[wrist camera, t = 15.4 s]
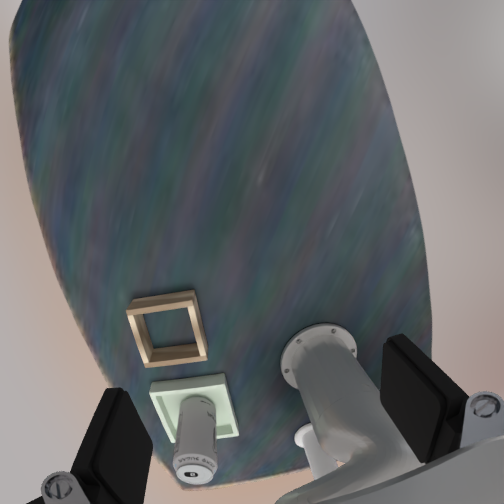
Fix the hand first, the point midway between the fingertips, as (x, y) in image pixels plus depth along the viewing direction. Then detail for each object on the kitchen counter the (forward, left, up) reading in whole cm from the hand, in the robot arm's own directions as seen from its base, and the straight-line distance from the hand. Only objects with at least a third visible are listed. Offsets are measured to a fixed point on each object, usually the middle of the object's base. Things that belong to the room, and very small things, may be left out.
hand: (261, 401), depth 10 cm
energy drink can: (-17, +24, -33) cm, 44 cm away
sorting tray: (-17, +25, -33) cm, 45 cm away
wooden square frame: (-3, +16, -33) cm, 37 cm away
